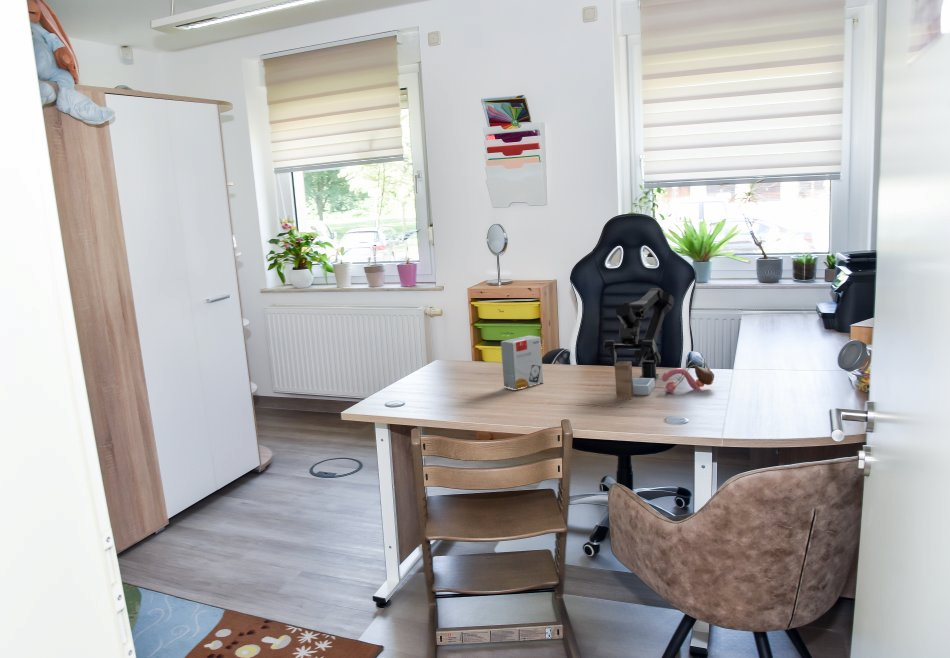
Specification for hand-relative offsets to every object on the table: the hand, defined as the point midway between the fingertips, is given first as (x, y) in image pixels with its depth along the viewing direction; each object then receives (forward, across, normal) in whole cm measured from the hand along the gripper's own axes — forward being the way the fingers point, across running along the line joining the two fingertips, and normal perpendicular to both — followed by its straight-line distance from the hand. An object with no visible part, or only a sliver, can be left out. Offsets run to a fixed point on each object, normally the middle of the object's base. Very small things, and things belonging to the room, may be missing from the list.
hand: (626, 366), depth 257 cm
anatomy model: (+2, +21, +13) cm, 25 cm away
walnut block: (+10, 0, +5) cm, 12 cm away
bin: (+4, +3, +12) cm, 12 cm away
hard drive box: (+3, -45, +12) cm, 46 cm away
